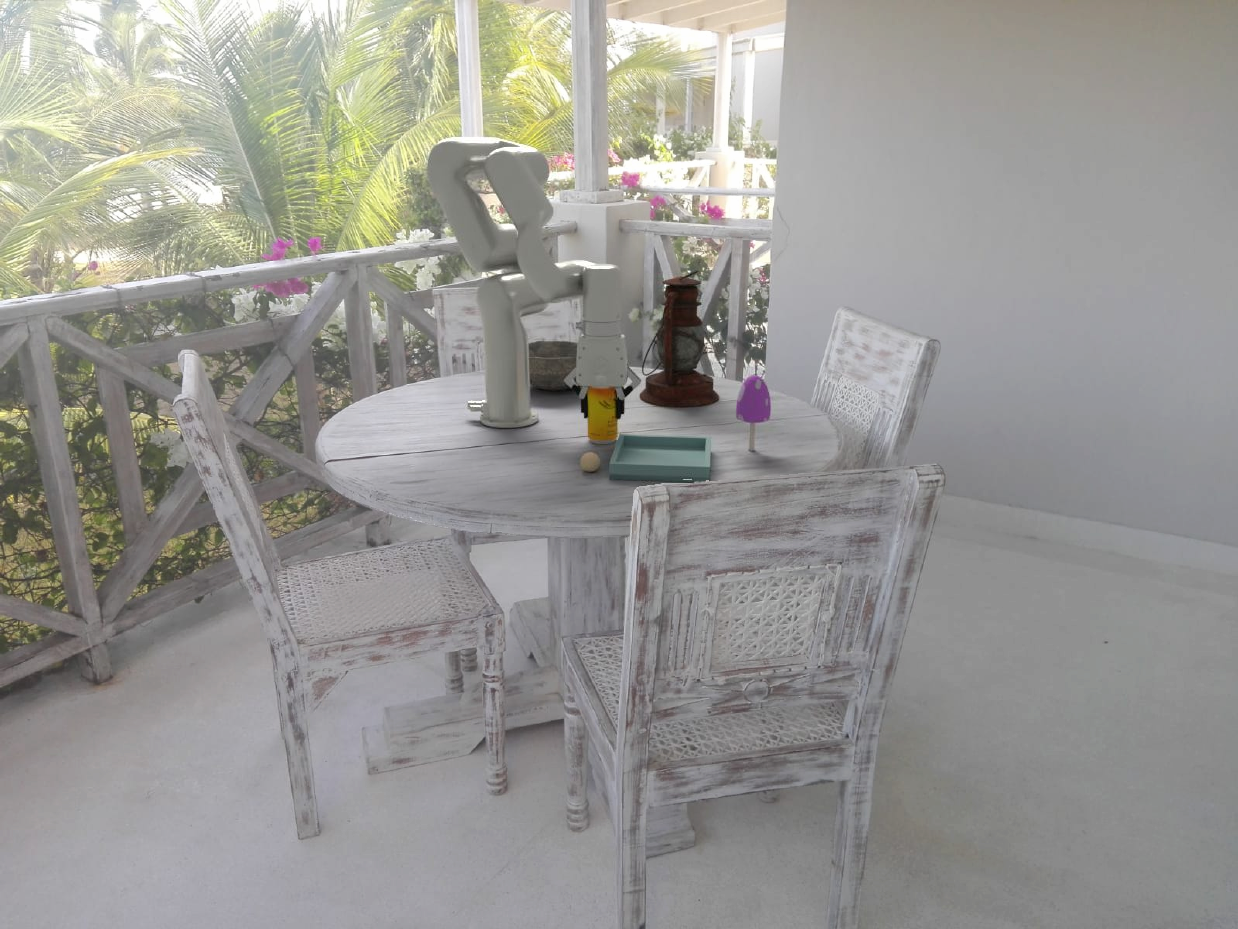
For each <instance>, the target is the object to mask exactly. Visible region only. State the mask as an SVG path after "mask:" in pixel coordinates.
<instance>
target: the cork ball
mask: <svg viewBox="0 0 1238 929" xmlns="http://www.w3.org/2000/svg"><path fill="white" fill-rule="evenodd" d="M600 465H601V458H600V457H599V456H598V455H597V453H595V452H592V451H590V452H586V453H584V454H583V455H582V456H581V458H580V466H581V468H582V469H583V470H584V471H586V472H588V473H590V472H595V471H596V470H598V468H599V467H600Z"/></svg>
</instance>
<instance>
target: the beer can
mask: <svg viewBox="0 0 1238 929" xmlns="http://www.w3.org/2000/svg"><path fill="white" fill-rule="evenodd" d="M604 376H605V375H603V376H602V374H600V375H597V376H596V377H595V386H593V387H588V390H587V399H588V418H586V419H587V438H588V439H589V441H590V443H593V444H596V445H608V444H613V443H614V442H615V441H616V439H618V437H619V435H618V434H619V433H618V432H619V431H618V430H619V429H618V423H619V422H618V420H619V419H617V418H616V401H617V398H618V394H617V392H616V389H615V388H610V387H607V386H606V377H604Z"/></svg>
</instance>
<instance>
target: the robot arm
mask: <svg viewBox="0 0 1238 929" xmlns="http://www.w3.org/2000/svg"><path fill="white" fill-rule="evenodd" d="M426 172H427V173H426V176H427V180H428V184H429V187H430V188H431V189H430V190H431V192H432V194H433V195H434V197H435V199H436V200H437V203H438V205H439V206H440V208H441V209H442V211H443V213H444V215H445V217H446V219H447V221H448V224H449V226H450V228H451V231H452V232H453V235H454V237H455V240H456V242H457V244H458V246H459V250H460V251H461V253H462V255H463V258H464V260H465V261H466V263H467V265H468V266H469V267H470V268H471V269H472V270H473V271H475V272H477V273H488V272H498V271H504V273H498V274H497V273H496V274H495V275H491V276H489V277H487V278H486V279H484V280H483V281H482V282H481V283H480V285H479V286H478V288H477V291H476V305H477V310H478V314H479V317H480V322H481V328H482V329H481V330H482V339H483V340H482V341H483V342H482V343H483V355H484V356H483V358H484V376H485V377H484V380H485V399H482V401H477V400H468V401H467V409H468V410H470V412H480V413H481V414H480V416H479V420H480V423H481V424H482V425H484V426H488V427H490V428H496V429H497V428H499V429H513V428H514V429H516V428H522V427H527V426H530V425H533V424H535V423H537V422H538V420H539V413H537V411H535V410H532V408H531V405H532V404H531V385H530V368H529V336H528V333H527V331H526V330H527V329H526V328H525V326H524V323H523V322H522V317H526V316H531V315H535V314H538V313H542V312H543V311H544V310H546V309H547V308H548V306H549V305H550V304H556V303H557V304H558V303H561V302H566V301H571V300H579V299H582V320H581V321H579V322H575V330H580V331H581V334H579V336H578V340H577V343H578V346H577V359H576V367H575V368H574V369H573V370H572V371H571V372H570V373H569V374H568V375H567V376H566V378H565V379H564V382H565V383H566V384H567V385H568V386H569V387H571V388H572V389H571V390H572V391H573V392H574V393H575V394H576V395H577V396H578V399H580V414H583V419H587V418H588V399H587V390H588V387H593V386H595V377H596V376H597V375H600V374H602V376H603V375H605V376H604V377H606V386H607V387H610V388H615V389H616V392H617V396H618V398H617V401H616V418H617V419H618V420H621V418H622V415H625V410H626V409H625V408H626V407H625V399H626V398H627V397H628V396H629V395H630V394H631V393H632V392H633V391H634V390H635V389H636V388H637V387H638V386H639V385H641V383H642V379H641V378H640V377H639V376H638V375H637V374H636V373H635V371H633V370H632V369H631V367H630V366H629V360H628V359H629V358H628V348H627V343H626V342H627V341H626V336H625V334H622V270H621V269H620V267H619V266H618V265H616V264H613V263H612V264H610V263H596V262H595V263H594V262H591V261H588V260H583V259H572V260H563V261H559V262H554V260H553V259H552V257H551V255H550V254H549V253H548V250H547V248H546V247H545V244H544V241H543V237H542V230H543V228H544V227H545V226H546V225H547V224H548V223H549V222H550V221H551V220H552V217H553V216H554V210H555V209H554V207H553V205H552V203H551V202H550V200H549V198H548V197H547V195H546V194H545V192H544V190H543V188H542V187H544V186H545V185H546V184H547V182H548V181H549V177H550V165H549V162H548V160H547V157H545V155H544V154H543V153H542V151H541V150H539V149H538V148H535V147H534V146H529V145H525V144H522V143H516V142H514V141H513V142H512V141H509V140H507V139H506V140H505V139H501V138H498V137H489V136H488V137H486V136H453V137H449V138H445V139H444V138H443V139H442V140H440V141H437V143H435V145H433V146H432V148H431V150H430V151H429V153H428V158H427V166H426ZM478 180H480V181H481V180H484V181H485V180H487V181H488V183H489V185H490V187H491V188H492V190H493V192H494V193H495V195H496V197H497V198H498V201H499V202H500V204H501V206H502V207H503V208H504V210H505V213H506V214H507V215H508V218H509V219H510V221H511V223H508V222H507V223H496V222H495V221H494V220H493V218H492V216H491V214H490V212H489V210H488V208H487V204H486V203H485V202H484V200H483V198H482V196H481V195H480V194H479V193H478V192H477V191H476V190H475V189H474V188H473V187H472V186H471V185H470V184H469V183H468V181H478ZM575 376H576V382H577V383H575V381H574V380H573V378H574V377H575ZM628 379H630V381H631V383H630V384H628V385H627V386H626V387H624V386H625V385H626V384H627V382H628Z"/></svg>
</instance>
